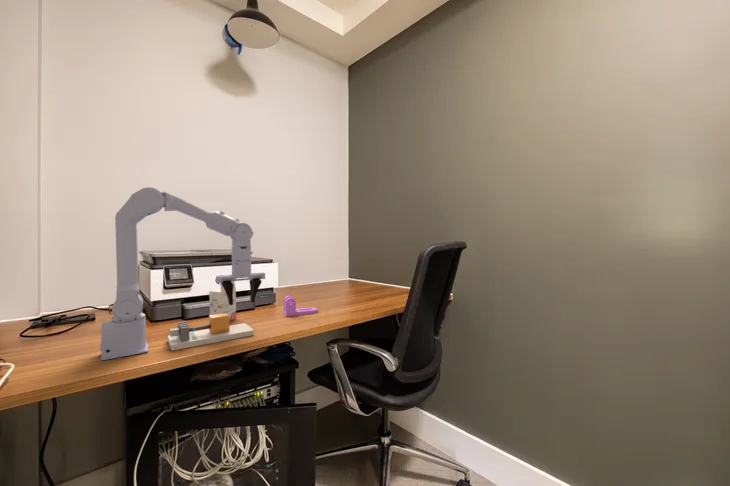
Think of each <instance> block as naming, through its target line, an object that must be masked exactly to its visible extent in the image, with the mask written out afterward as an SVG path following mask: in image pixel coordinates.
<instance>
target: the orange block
mask: <svg viewBox="0 0 730 486" xmlns="http://www.w3.org/2000/svg"><path fill="white" fill-rule="evenodd" d="M208 325H211V328H209V331H210V332H211V334H214V333H220V332H225V331H230V321H229V315H228V314H227V313H223V314H216V315H210V314H209V315H208Z"/></svg>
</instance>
